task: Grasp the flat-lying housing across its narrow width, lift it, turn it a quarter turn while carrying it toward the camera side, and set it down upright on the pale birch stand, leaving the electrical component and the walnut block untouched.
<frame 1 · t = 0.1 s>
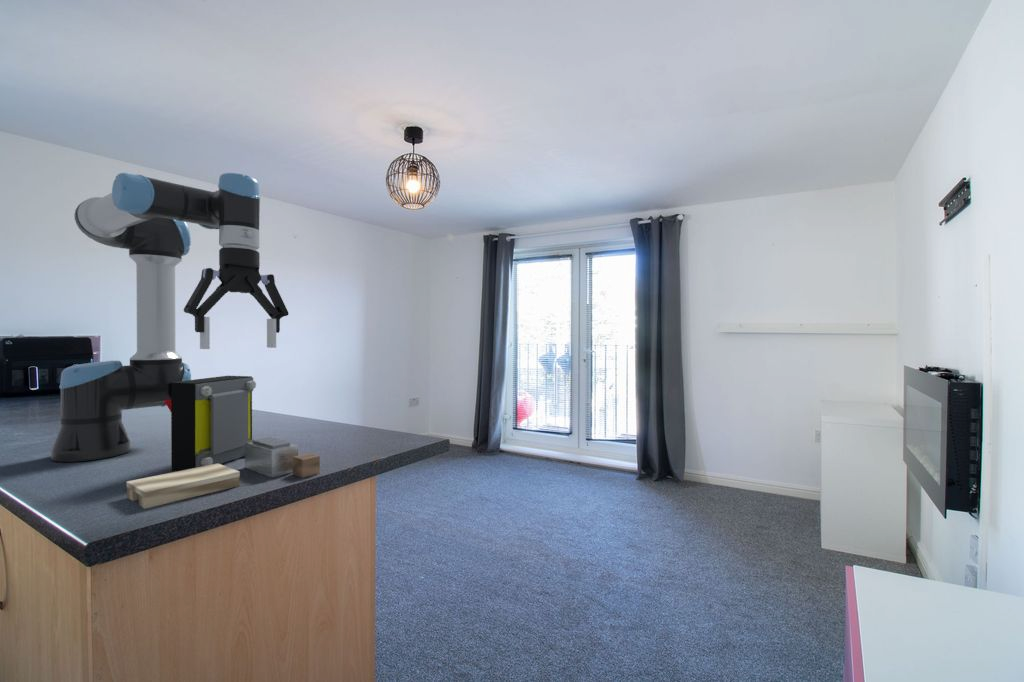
hand: (239, 348, 103), 28 cm above the countertop, fingers open, 13 cm apart
walnut block: (306, 474, 107), on the countertop
stand: (185, 491, 94), on the countertop
housing: (271, 470, 110), on the countertop
electrical component: (215, 462, 116), on the countertop
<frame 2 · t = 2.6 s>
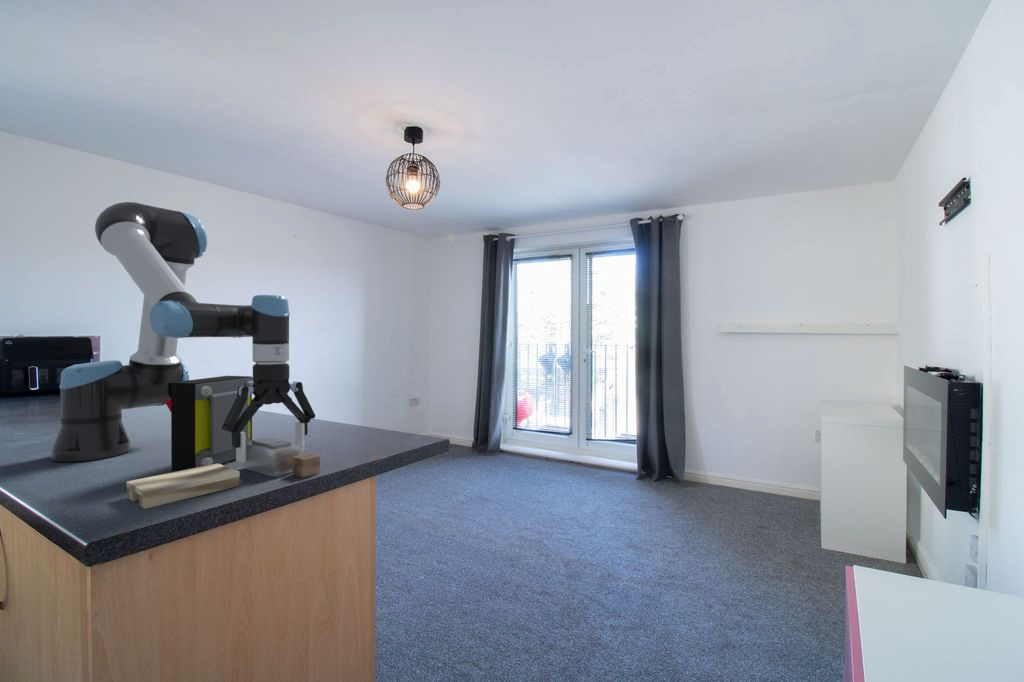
hand: (272, 455, 110), 3 cm above the countertop, fingers open, 13 cm apart
nothing on the countertop moved.
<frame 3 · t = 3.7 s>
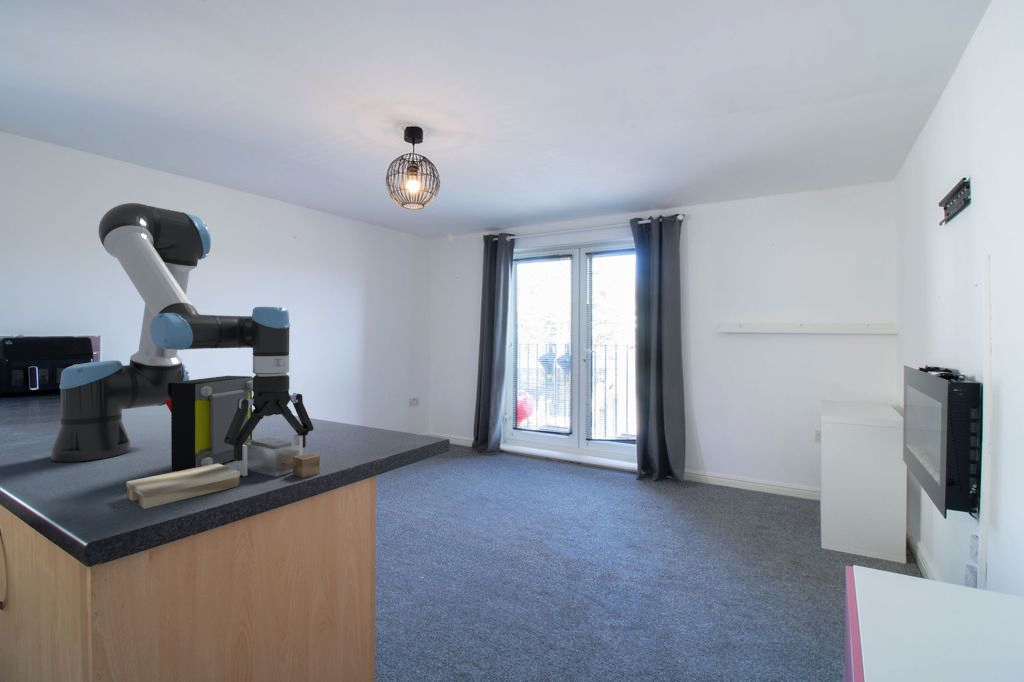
hand: (271, 468, 110), 0 cm above the countertop, fingers open, 12 cm apart
nothing on the countertop moved.
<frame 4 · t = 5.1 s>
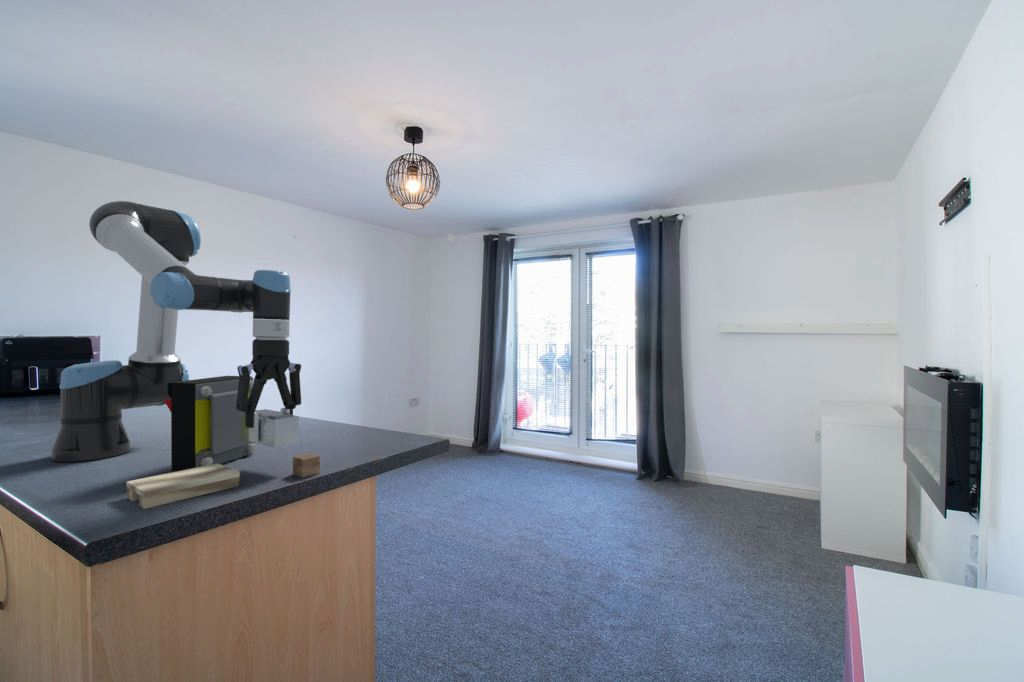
hand: (269, 438, 110), 7 cm above the countertop, fingers closed on housing, 6 cm apart
housing: (269, 441, 110), point 6 cm above the countertop, touching gripper
everything else where it was.
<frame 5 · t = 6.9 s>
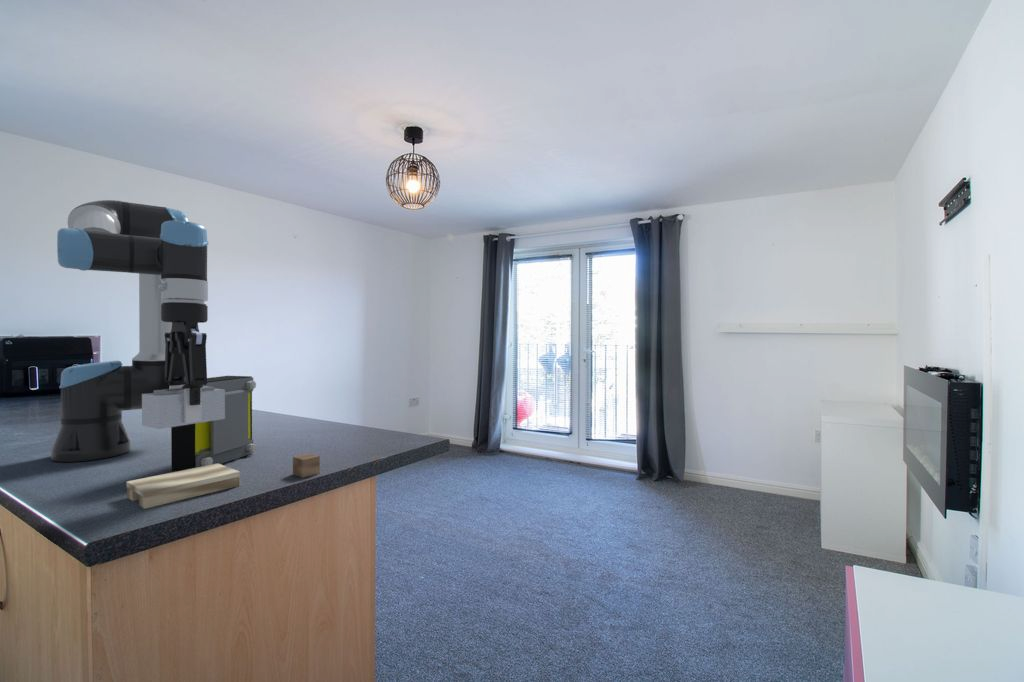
hand: (185, 419, 94), 14 cm above the countertop, fingers closed on housing, 6 cm apart
housing: (185, 422, 94), point 14 cm above the countertop, touching gripper
everything else where it was.
when the fingers open (4 cm above the countertop, at t = 9.1 s): housing stays where it is, resting on stand.
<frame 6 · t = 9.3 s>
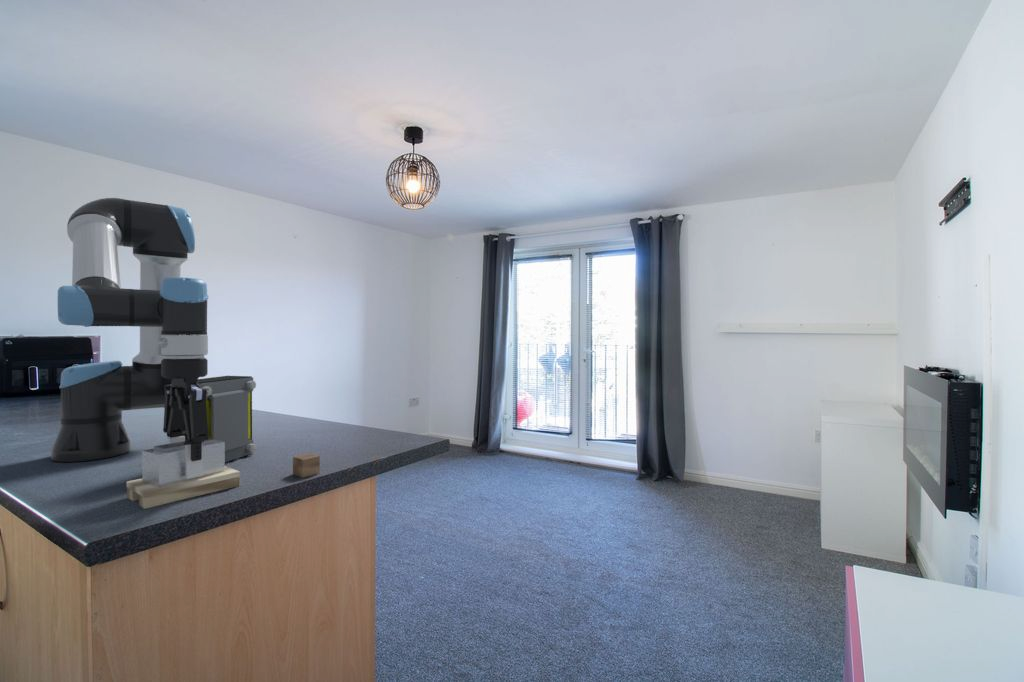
hand: (185, 472, 94), 4 cm above the countertop, fingers open, 8 cm apart
housing: (185, 476, 94), point 3 cm above the countertop, touching stand
everything else where it was.
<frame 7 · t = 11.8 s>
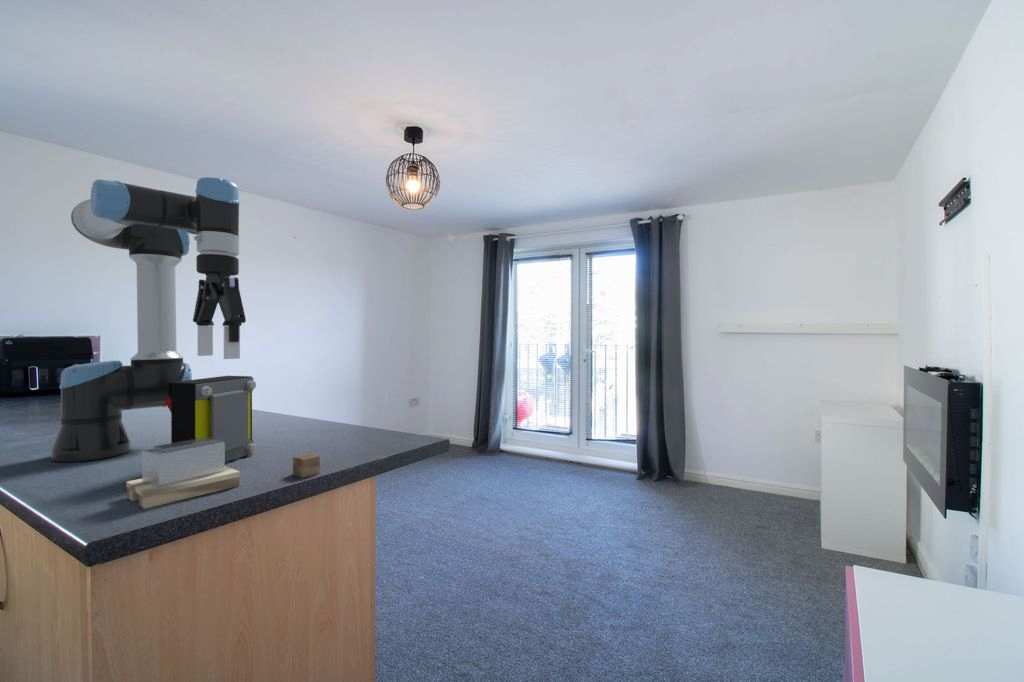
hand: (217, 357, 100), 26 cm above the countertop, fingers open, 13 cm apart
nothing on the countertop moved.
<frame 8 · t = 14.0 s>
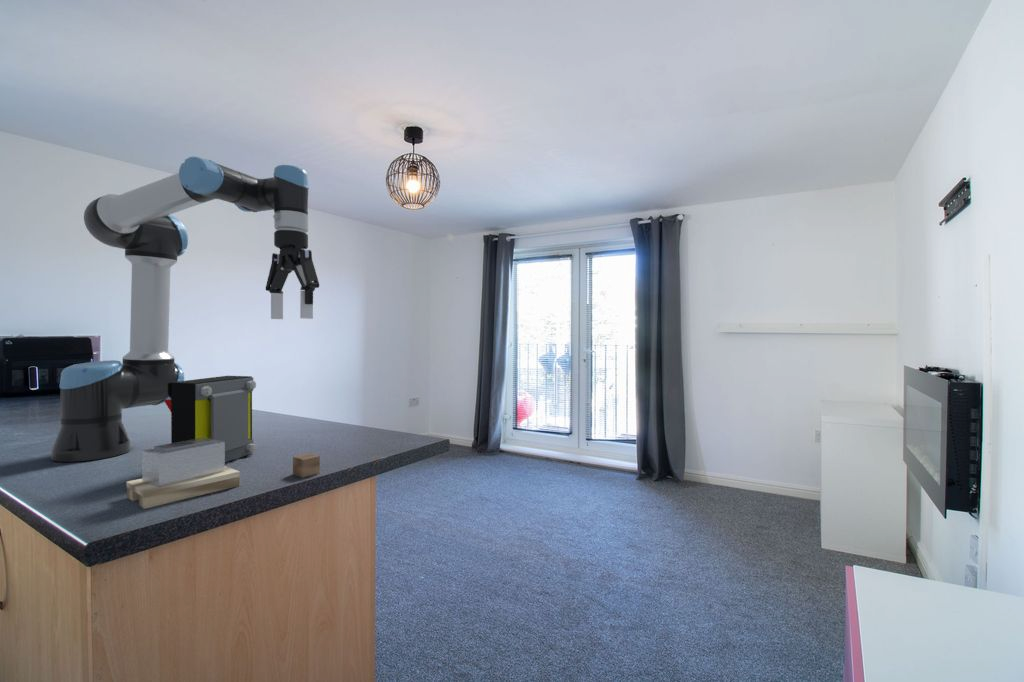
hand: (291, 319, 117), 35 cm above the countertop, fingers open, 13 cm apart
nothing on the countertop moved.
at the end: housing inside the target area on the stand (0.0 cm from its centre), point 3.0 cm above the stand's base; housing tilted 0°; the gripper is holding nothing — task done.
